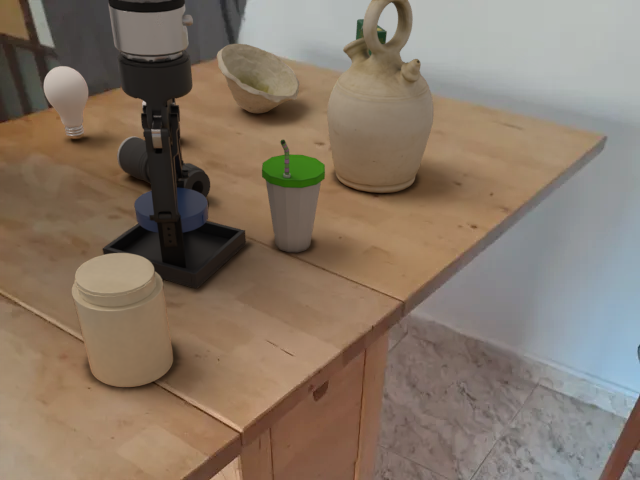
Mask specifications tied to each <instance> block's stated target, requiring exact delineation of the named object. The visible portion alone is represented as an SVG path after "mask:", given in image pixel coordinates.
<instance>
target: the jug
mask: <svg viewBox="0 0 640 480" xmlns="http://www.w3.org/2000/svg"><path fill="white" fill-rule="evenodd" d="M391 3H392V4H393V5H394V7H395V9H396V12H397V26H396V29H395V32H394V34H393V35H392V37H391V39H389V40H388V41H386V43H385V44H381V43H380V41H379V39H378V35H377V25H378V24H379V21H380V18H381V15H382V13H383V11H384V9H385V8H386V7H387V6H388V5H390V4H391ZM363 19H364V22H363V35H364V38H360V39H357V40H356V39H355V40H352V41H350V42H349V43H347V44H345V46H344V47H343V49H342V51H343V53H344V54H345V55H347V57H348V58H349V59H350V61H351V65H350V66H349V68H348V69H347V70H345V71H344V72H342V73H341V74H340V75H339V77H338V79H337V80H336V82H335V84H334V86H333V88H332V90H331V93H330V94H329V98H328V102H327V109H326V111H327V112H326V113H327V114H326V117H327V118H326V120H327V127H328V128H327V130H328V139H329V146H330V151H331V156H332V157H331V158H332V163H333V167H334V170H335V175H336V179H338V181H339V182H341V183H342V184H343V185H344V186H347V187H349V188H351V189H354V190H357V191H361V192H367V193H375V194H376V193H377V194H384V193H385V194H386V193H397V192H401V191H404V190H406V189H407V188H409V187H411V186H412V185H413V183H414V182H415V180H416V176H417V173H418V171H419V169H420V166H421V164H422V161H423V158H424V154H425V150H426V148H427V144H428V142H429V139H430V135H431V133H432V132H431V131H432V129H433V124H434V101H433V96H432V92H431V89H430V86H429V83H428V82H427V79H425V77H424V76H423V75H422V73H421V60H420V59H418V58H413V59H412V60H411V61H407V62H405V61H403V59H402V56H401V51H402V50H403V49H404V47H405V46H406V45H407V43H408V41H409V40H410V36H411V33H412V29H413V22H414V21H413V19H414V18H413V10H412V5H411V3H410V1H409V0H371V1H370V2H369V4H368V6H367V9H366V10H365V12H364V15H363ZM368 48H369V49H370V50H371V52H372V54H371V56H370V55H369V53H368Z"/></svg>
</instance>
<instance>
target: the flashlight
mask: <svg viewBox="0 0 640 480" xmlns="http://www.w3.org/2000/svg"><path fill="white" fill-rule="evenodd" d="M116 160H117V164H118V167H119V168H120V169H121V170H122V172H124V173H126V174H128V175H129V176H131V177H133V178H135V179H137V180H140V181H144V182H147V183H148V184H150V185H151V183H150V174H149V165H148V156H147V152H146V142H145V139H143V138H141V137H138V136H135V135H134V136H128V137H127V138H125V139H124V140H123V141H122V142H121V143H120V145H119V146H118V150H117V154H116ZM182 170H188V172H189V179H179V181H184V187H185V188H186V189H191V190H194V191H197V192H199V193H201V194H202V195H204V196H205V198H206V199H207V197H208V195H209V193H210V191H211V179H210V177H209V175H208V174H207V172H205V170H204V169H202V168H200V167H199V166H197V165H195V164H193V163H190V162H187V163H185V162H184V165H183V168H182Z"/></svg>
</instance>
